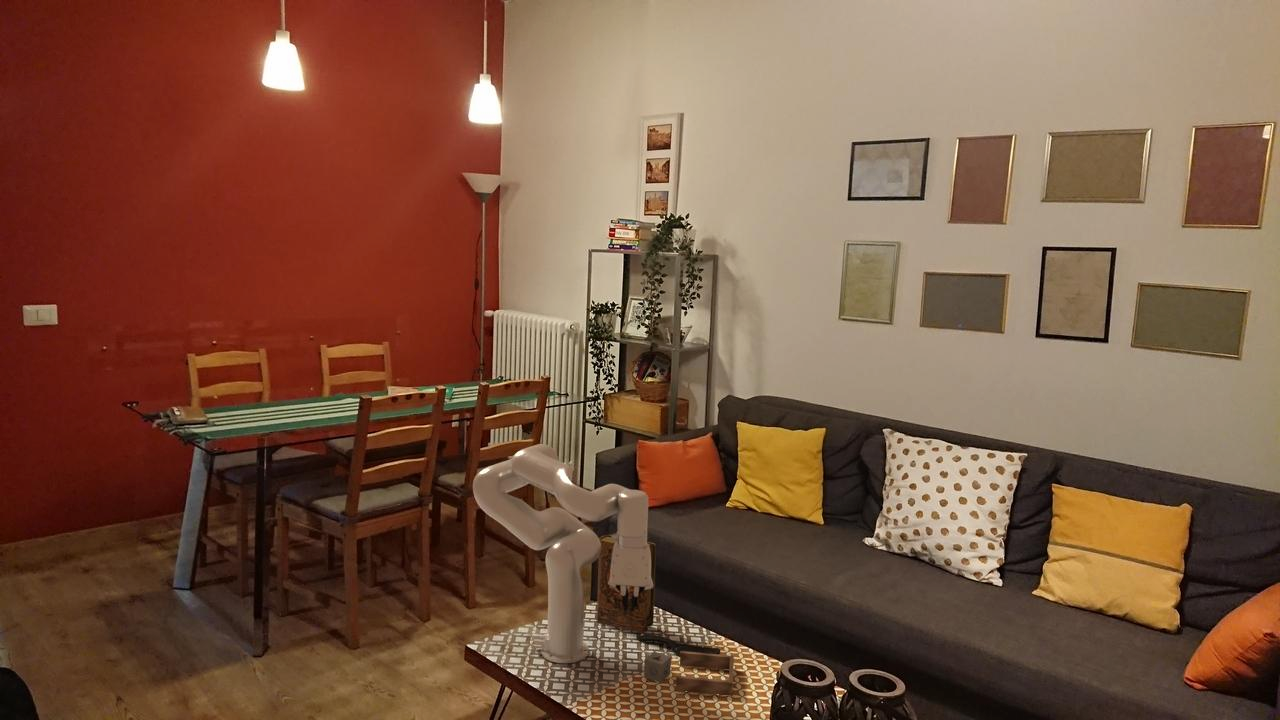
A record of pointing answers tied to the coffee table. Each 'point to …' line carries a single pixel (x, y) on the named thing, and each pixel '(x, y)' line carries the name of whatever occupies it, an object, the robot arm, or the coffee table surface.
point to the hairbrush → (678, 645)
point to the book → (611, 598)
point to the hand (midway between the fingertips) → (629, 608)
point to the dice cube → (657, 667)
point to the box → (703, 683)
